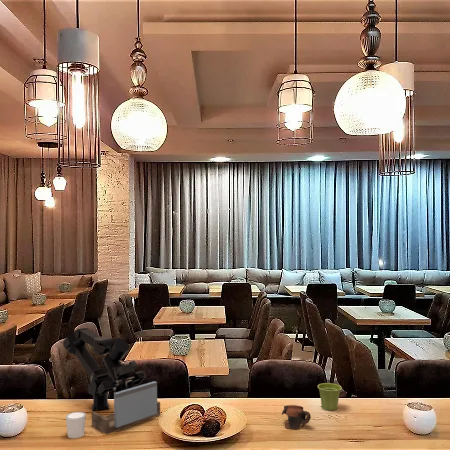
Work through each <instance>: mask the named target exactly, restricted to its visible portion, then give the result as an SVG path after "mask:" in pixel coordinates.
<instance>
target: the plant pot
mask: <svg viewBox="0 0 450 450" xmlns="http://www.w3.org/2000/svg"><path fill="white" fill-rule="evenodd" d="M317 389H318V391H319V396H320V405H321V408H322V409H323V410H324V411H336V410H338V406H339V400H340V399H339V398H340V393H341V390H342V389H343V388H342V386H341V385H339V384H337V383H333V382H332V383H331V382H330V383H329V382H325V383H324V382H323V383H319V384H318V385H317Z"/></svg>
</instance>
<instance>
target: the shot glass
mask: <svg viewBox="0 0 450 450" xmlns="http://www.w3.org/2000/svg"><path fill="white" fill-rule="evenodd" d="M86 415H87V414H86V412H83V411H74V412H70V413H68V414H66V416H65V425H66V432H67V434H66V435H67V437H68V438H69V439H79V438H81V437H83V436H84V435H85V430H86V429H85V428H86V420H87V419H86Z"/></svg>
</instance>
